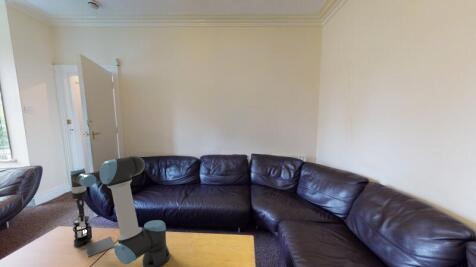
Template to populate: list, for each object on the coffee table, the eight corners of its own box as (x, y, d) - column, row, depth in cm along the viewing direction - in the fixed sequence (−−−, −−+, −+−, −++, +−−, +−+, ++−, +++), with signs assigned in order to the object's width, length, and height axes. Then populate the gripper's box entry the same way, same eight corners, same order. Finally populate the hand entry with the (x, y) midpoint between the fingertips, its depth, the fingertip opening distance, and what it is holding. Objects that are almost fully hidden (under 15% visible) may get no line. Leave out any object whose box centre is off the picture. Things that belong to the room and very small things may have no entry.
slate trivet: (114, 246, 126) (114, 245, 126) (88, 257, 116) (88, 256, 116) (110, 237, 136) (110, 236, 136) (86, 246, 126) (86, 245, 126)
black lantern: (68, 247, 126) (66, 213, 124) (81, 238, 135) (78, 207, 133) (85, 247, 125) (83, 214, 123) (97, 238, 134) (94, 207, 133)
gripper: (88, 195, 121) (90, 226, 122) (84, 185, 139) (86, 212, 141) (72, 198, 115) (75, 231, 117) (71, 187, 134) (73, 216, 135)
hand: (81, 221), depth 129 cm, fingers open, 13 cm apart
